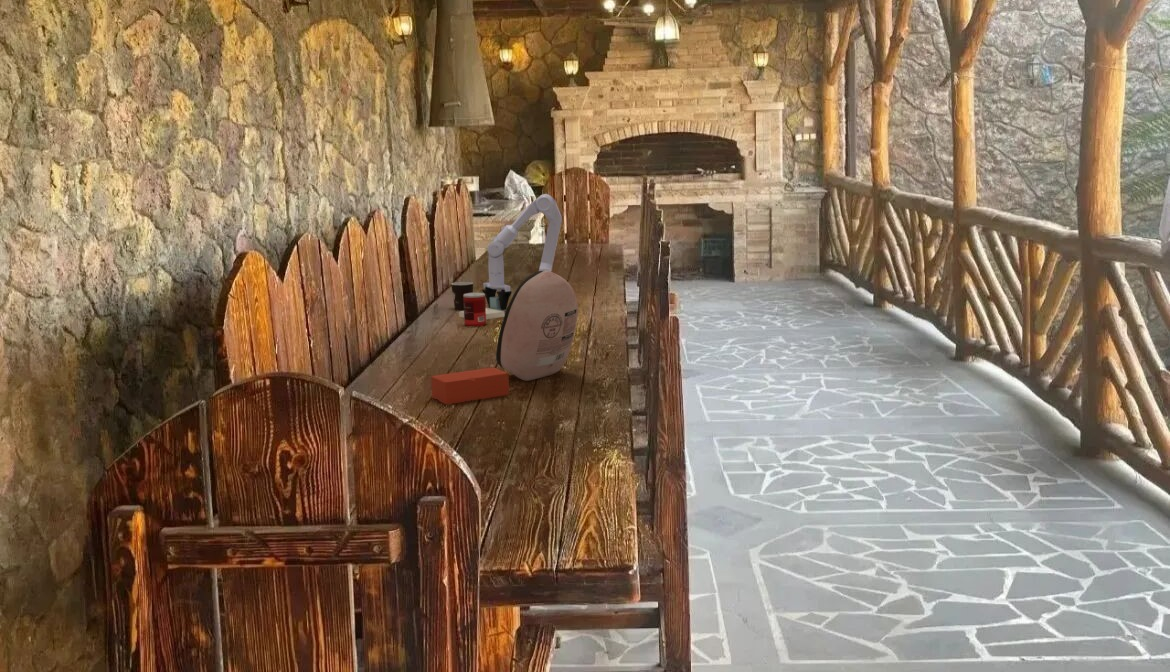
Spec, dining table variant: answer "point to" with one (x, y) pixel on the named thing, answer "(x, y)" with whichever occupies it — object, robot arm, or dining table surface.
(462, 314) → the base tile
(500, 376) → the brick
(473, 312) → the canned food
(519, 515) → the dining table surface
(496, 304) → the block
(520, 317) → the packaged food
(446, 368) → the dining table surface
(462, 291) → the coffee mug
